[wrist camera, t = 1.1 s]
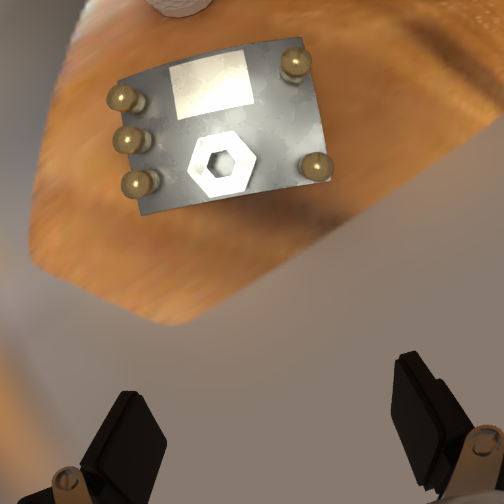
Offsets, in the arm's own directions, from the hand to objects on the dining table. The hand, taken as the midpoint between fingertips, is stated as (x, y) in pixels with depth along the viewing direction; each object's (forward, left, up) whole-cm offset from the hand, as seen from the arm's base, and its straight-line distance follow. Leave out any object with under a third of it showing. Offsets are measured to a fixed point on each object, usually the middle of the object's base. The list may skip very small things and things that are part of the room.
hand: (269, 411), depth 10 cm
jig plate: (-13, -2, -20) cm, 24 cm away
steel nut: (-9, -2, -20) cm, 21 cm away
